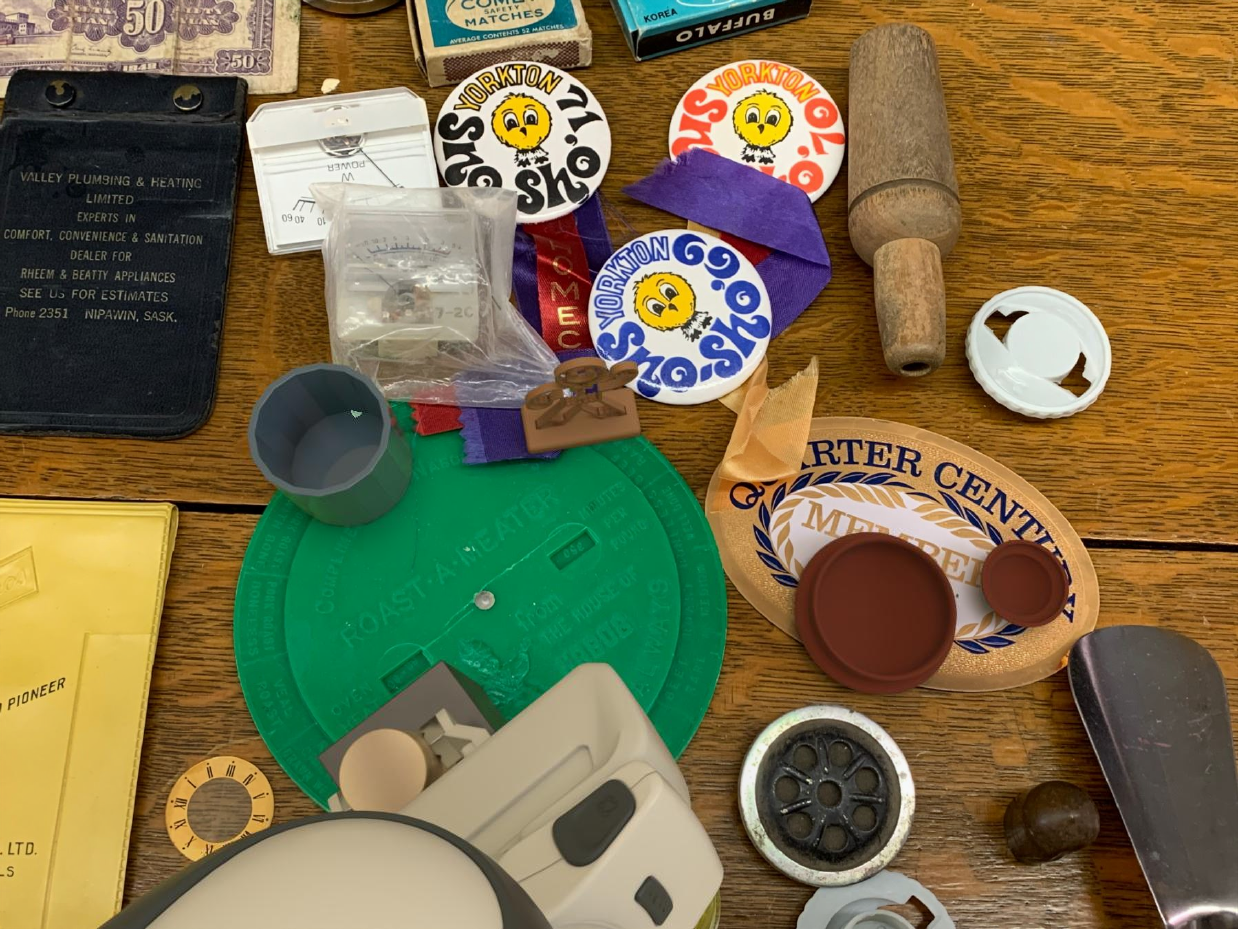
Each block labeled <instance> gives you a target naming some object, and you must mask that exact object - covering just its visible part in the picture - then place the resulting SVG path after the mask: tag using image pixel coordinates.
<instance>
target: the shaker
mask: <svg viewBox="0 0 1238 929" xmlns="http://www.w3.org/2000/svg"><path fill="white" fill-rule="evenodd" d="M455 765H456V763H455V764H453V765H452V766H451V767H450V768H447V767H446V766H445V765H444V764H443V763H442V761H441V760H440V758H439V757H438V755H435V754H434V752H433V751H432V749H431V748H430V747H429V745H428V744H427V742H426V741H425V740H424V736H423V735H422V734H421V733H420V732H413V731H405V730H397V729H388V728H384V729H377V730H373V731H370V732H368V733H366V734H364V735H362V736H361V737H359V738H358V739H357V740H356V741H355V742H354V743H353V744H352V745H351V746H350V747H349V749H348V750H347V751H346V753H345V755H344V757H343V760H342V762H341V766H340V772H339V783H340V788H341V792H342V794H343V797H344V799H345V800H346V802H347V803H348V805H349V806H350V807H351V808H352V809H353V810H354V811H380V812H388V813H397V812H398V811H399V810H400V809H401V808H403V807H404V806H405V805H406V804H408V803H409V802H410V801H411V800H413V799H414V798H415V797H416V796H418V795H419V794H420V793H421V792H422V791H424V790H425V789H426V788H427V787H429V786H430V785H431V784H432V783H434V782H435V781H436V780H437V779H439V778H440V777H441V776H442V775H444V774H445V773H446V772H447V771H449V770H450V769H451V768H452V767H453V766H455Z"/></svg>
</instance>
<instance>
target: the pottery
mask: <svg viewBox="0 0 1238 929" xmlns="http://www.w3.org/2000/svg"><path fill="white" fill-rule="evenodd" d="M980 583H981V584H980V585H981V590H982V594H983V596H984V598H985V601H986V602H987V604H988V606H989V607H990V608H991V609H992V610H993V612H995V614H997V616H999V617H1000V618H1002V619H1003V620H1004V621H1006V622H1007V623H1010V624H1012V625H1014V626H1017V627H1021V628H1027V629H1028V628H1029V629H1030V628H1032V629H1033V628H1040V627H1043V626H1046V625H1048V624H1050V623H1052V622H1054V621H1055V620H1057V619H1058V617H1059V616H1060V615H1062V612H1063V611H1064V610H1065V608H1066V606H1067V603H1068V601H1069V595H1070V582H1069V577H1068V574H1067V572H1066V569H1065V567H1064V565H1063V563H1062V561H1060V559H1059V558H1058V557H1057V556H1056V554H1055V553H1053V551H1051V550H1050V549H1049V548H1048V547H1046V546H1044V545H1042V544H1040V543H1038V542H1036V541H1033V540H1028V539H1010V540H1006V541H1004V542H1002V543H1000V544H998V545H996V546H995V547H994V548H993V549H992V550H991V551H990V552H989V553H988V554H987V556H986V557H985V559H984V561H983V563H982V567H981V571H980ZM794 619H795V623H796V624H795V625H796V628H797V632H798V635H799V638H800V640H801V643H802V645H803V646H804V648H805V650H806V652H807V653H808V655H809V657H810V658H811V659H812V661H813V662H814V663H815V665H817V667H818V668H819V669H820V670H821V671H823V673H825V674H826V675H827V676H828V677H830V678H831V679H833V680H834V681H835V682H837V683H838V684H840V685H842V686H844V687H846V688H849V689H850V690H853V691H856V692H859V693H863V694H868V695H877V696H886V695H895V694H901V693H904V692H908V691H910V690H912V689H914V688H917V687H918V686H920V685H922V684H924V683H925V682H926V681H928V680H929V679H930V678H932V677H933V676H934V675H935V674H936V673H937V672H938V671H939V669H940V668H941V667H942V665H944V663H945V661H946V659H947V658H948V656H949V654H950V651H951V649H952V647H953V644H954V640H955V636H956V630H957V621H958V620H957V619H958V609H957V601H956V596H955V593H954V589H953V587H952V585H951V582H950V580H949V578H948V577H947V574H946V573H945V571H944V570H943V568H942V567H941V566H940V565H939V564H938V562H937V561H936V560H935V559H934V558H933V556H931V555H930V554H929V553H927V552H926V551H925V550H923V549H922V548H920V547H919V546H917V545H915V544H914V543H912V542H909V541H907V540H906V539H903V538H902V537H898V536H896V535H892V534H890V533H884V532H877V531H861V532H860V531H859V532H854V533H849V534H845V535H842V536H840V537H837V538H835V539H833V540H832V541H830V542H828V543H827V544H825V545H824V546H822V547H821V548H820V549H818V550H817V552H815V554H814V555H812V557H811V558H810V559H809V561H808V562H807V563H806V565H805V567H804V568H803V570H802V572H801V574H800V577H799V579H798V582H797V585H796V589H795V595H794Z"/></svg>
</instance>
